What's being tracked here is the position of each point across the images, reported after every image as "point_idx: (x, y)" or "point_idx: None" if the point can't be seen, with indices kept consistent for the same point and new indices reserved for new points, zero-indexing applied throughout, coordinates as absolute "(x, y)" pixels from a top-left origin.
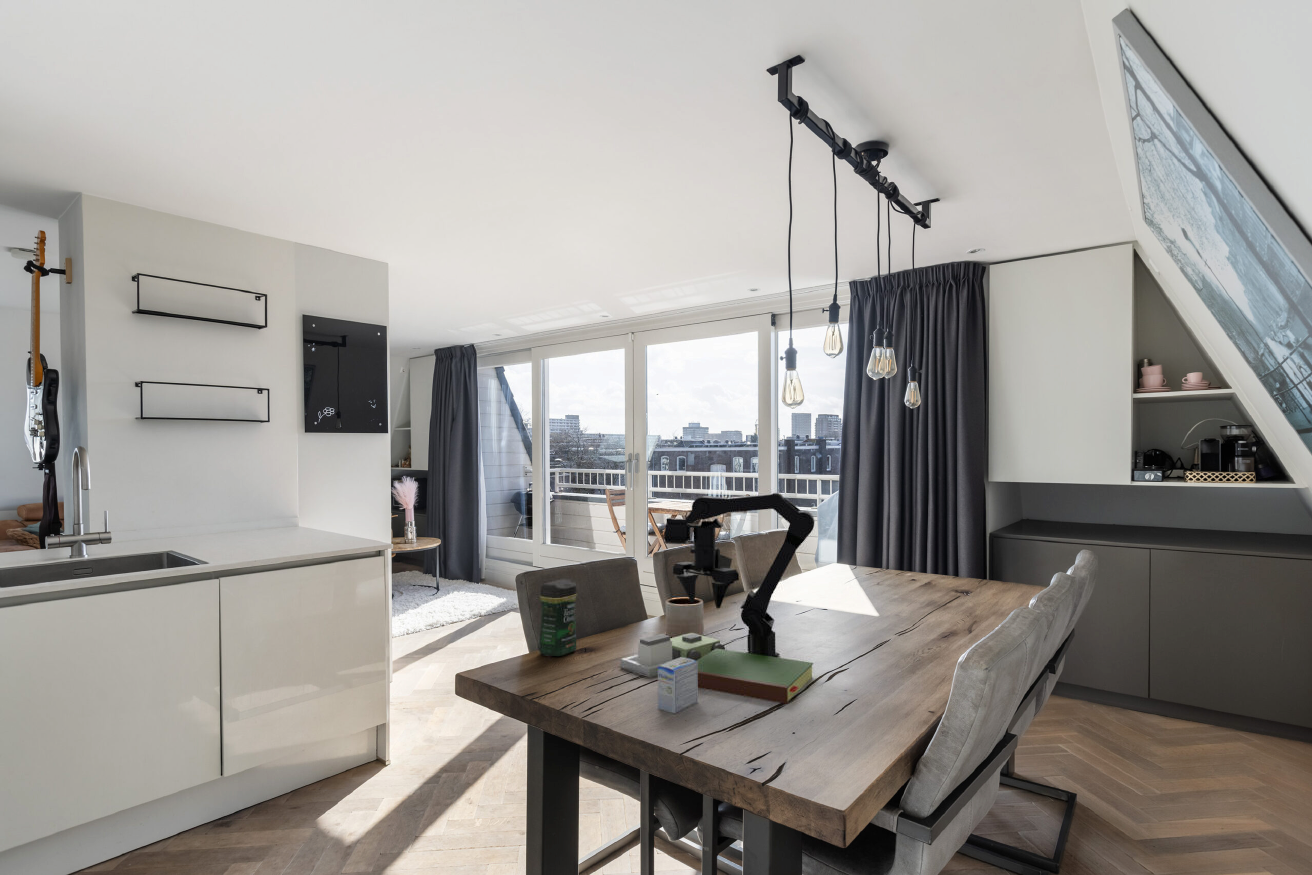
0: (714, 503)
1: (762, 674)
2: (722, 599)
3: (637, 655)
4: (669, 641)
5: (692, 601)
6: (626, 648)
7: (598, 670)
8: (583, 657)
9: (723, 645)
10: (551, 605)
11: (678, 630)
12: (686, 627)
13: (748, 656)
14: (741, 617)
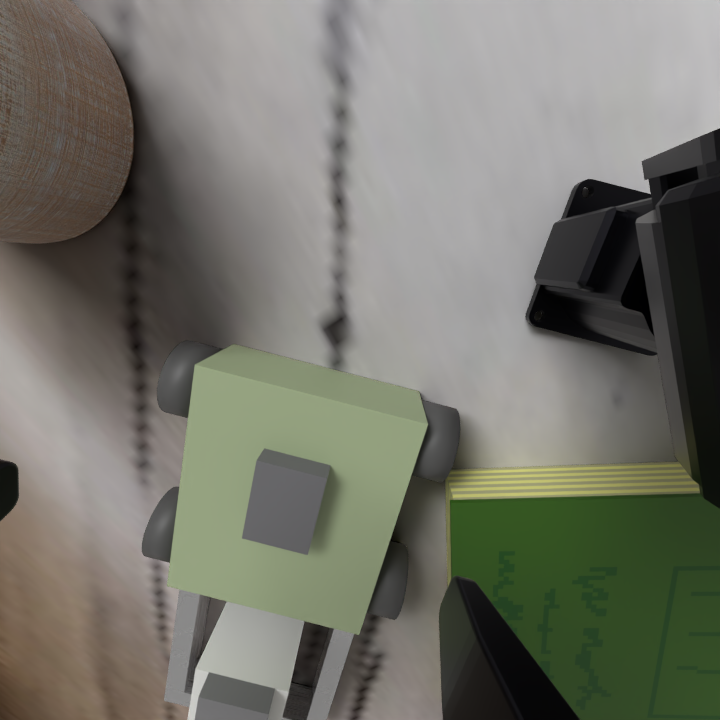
0: None
1: None
2: (560, 712)
3: (180, 649)
4: (283, 701)
5: (4, 504)
6: (20, 493)
7: (149, 710)
8: (5, 640)
9: (458, 436)
10: None
11: (31, 237)
12: (51, 210)
13: (658, 542)
14: (691, 474)
